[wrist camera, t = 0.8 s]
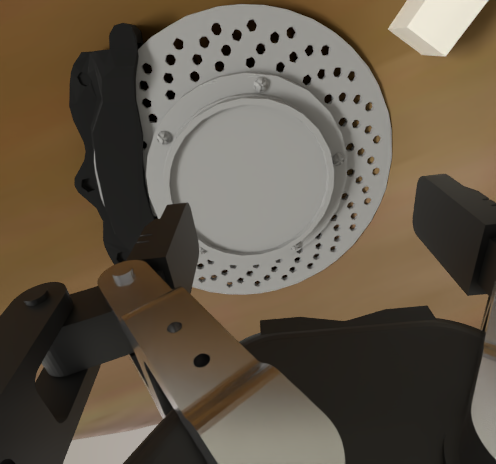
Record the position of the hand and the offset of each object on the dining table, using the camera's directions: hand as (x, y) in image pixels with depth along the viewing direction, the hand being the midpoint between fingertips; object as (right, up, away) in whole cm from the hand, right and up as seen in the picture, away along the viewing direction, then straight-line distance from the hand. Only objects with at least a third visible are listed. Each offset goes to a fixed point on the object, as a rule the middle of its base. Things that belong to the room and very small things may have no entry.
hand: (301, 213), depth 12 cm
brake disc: (-3, +6, +25) cm, 26 cm away
